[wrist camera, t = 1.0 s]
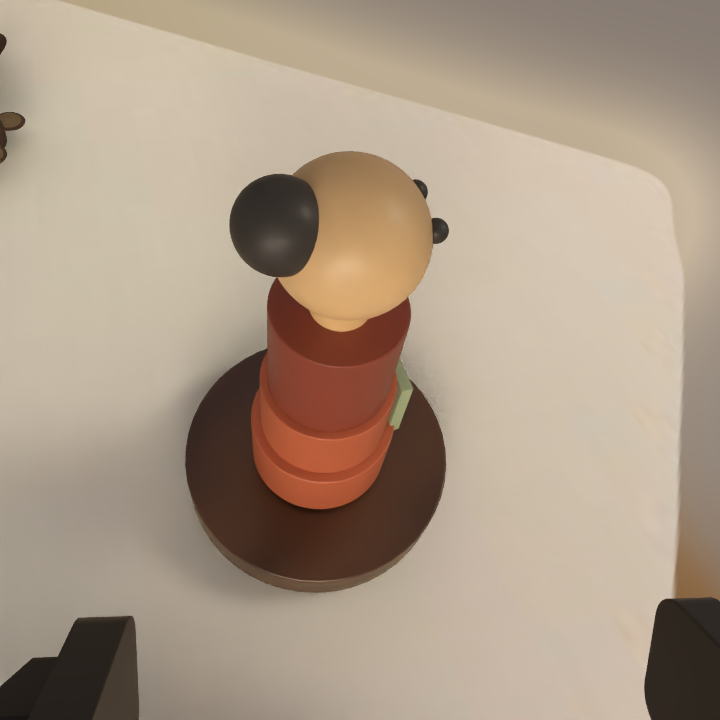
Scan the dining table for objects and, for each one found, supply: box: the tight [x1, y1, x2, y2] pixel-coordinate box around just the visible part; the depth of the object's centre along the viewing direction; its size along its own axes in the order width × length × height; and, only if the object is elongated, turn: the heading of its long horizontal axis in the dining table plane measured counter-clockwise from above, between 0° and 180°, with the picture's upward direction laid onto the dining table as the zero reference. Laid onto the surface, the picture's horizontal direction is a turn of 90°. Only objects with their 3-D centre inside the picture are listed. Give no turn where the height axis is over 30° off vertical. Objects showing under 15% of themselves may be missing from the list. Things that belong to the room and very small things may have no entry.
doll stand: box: [185, 349, 446, 593], centre depth 32 cm, size 12×12×2 cm
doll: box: [230, 151, 449, 509], centre depth 24 cm, size 6×6×16 cm
